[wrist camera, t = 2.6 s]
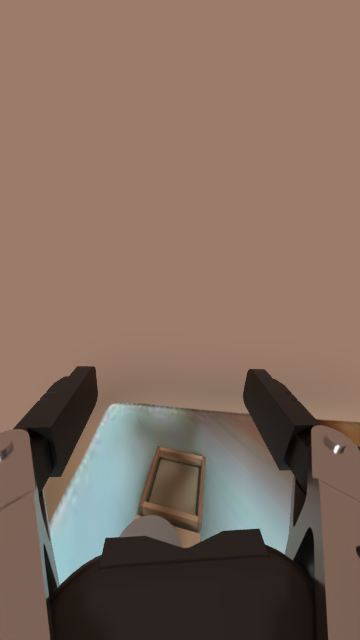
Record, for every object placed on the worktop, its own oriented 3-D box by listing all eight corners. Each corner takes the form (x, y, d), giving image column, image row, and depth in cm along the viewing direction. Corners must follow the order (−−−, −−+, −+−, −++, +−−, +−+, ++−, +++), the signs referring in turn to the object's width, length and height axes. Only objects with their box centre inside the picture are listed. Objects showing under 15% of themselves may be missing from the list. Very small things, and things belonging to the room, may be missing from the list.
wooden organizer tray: (204, 464, 31) (205, 457, 30) (184, 787, 12) (186, 784, 11) (157, 453, 32) (157, 446, 31) (73, 730, 13) (69, 723, 13)
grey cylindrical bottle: (180, 603, 18) (190, 517, 14) (167, 722, 14) (177, 650, 9) (132, 586, 19) (127, 499, 15) (104, 693, 14) (84, 612, 10)
